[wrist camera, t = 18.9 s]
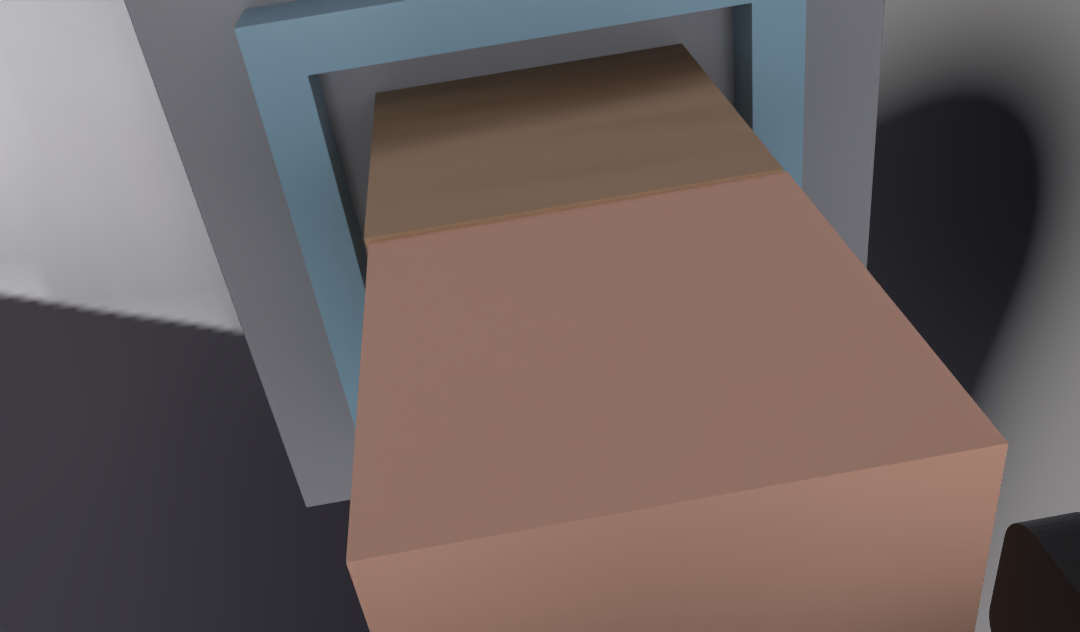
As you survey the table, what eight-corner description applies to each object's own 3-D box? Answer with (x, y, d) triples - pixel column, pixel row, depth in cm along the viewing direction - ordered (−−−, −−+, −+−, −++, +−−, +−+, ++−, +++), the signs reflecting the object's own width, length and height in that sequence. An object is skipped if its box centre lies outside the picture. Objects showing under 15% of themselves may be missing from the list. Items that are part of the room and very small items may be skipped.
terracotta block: (368, 242, 13) (345, 562, 8) (786, 170, 14) (1008, 443, 9) (446, 542, 17) (462, 901, 12) (782, 481, 17) (942, 809, 12)
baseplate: (106, -100, 17) (70, -77, 15) (876, -222, 17) (931, -213, 16) (309, 480, 25) (302, 542, 23) (841, 386, 25) (876, 440, 23)
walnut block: (375, 92, 18) (363, 238, 13) (681, 43, 19) (783, 168, 14) (433, 346, 22) (441, 539, 17) (693, 302, 22) (778, 479, 17)
